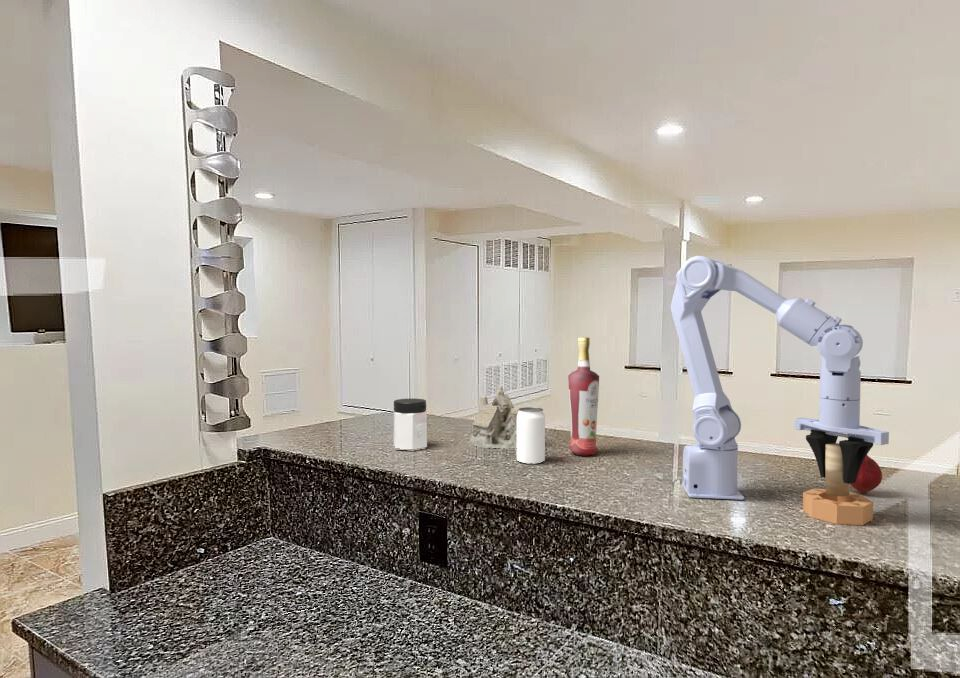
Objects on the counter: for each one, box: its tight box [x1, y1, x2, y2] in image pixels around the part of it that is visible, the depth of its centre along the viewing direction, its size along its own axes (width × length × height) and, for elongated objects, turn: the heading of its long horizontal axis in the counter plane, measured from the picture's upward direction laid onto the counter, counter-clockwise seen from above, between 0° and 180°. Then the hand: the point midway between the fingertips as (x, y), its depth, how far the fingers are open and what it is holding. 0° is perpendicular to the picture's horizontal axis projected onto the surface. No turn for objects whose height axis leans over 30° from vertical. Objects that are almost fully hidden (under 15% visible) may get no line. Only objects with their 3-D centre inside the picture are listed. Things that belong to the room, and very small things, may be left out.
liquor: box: [567, 337, 600, 457], centre depth 141 cm, size 7×7×28 cm
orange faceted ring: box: [802, 488, 874, 526], centre depth 98 cm, size 9×9×3 cm
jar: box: [393, 398, 428, 449], centre depth 148 cm, size 9×8×12 cm
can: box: [516, 406, 546, 464], centre depth 134 cm, size 6×6×12 cm
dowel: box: [824, 442, 850, 496], centre depth 97 cm, size 3×3×8 cm
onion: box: [849, 454, 883, 495], centre depth 109 cm, size 6×6×8 cm
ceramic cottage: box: [468, 385, 519, 450], centre depth 152 cm, size 16×16×15 cm
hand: (837, 479), depth 98 cm, fingers closed on dowel, 3 cm apart
